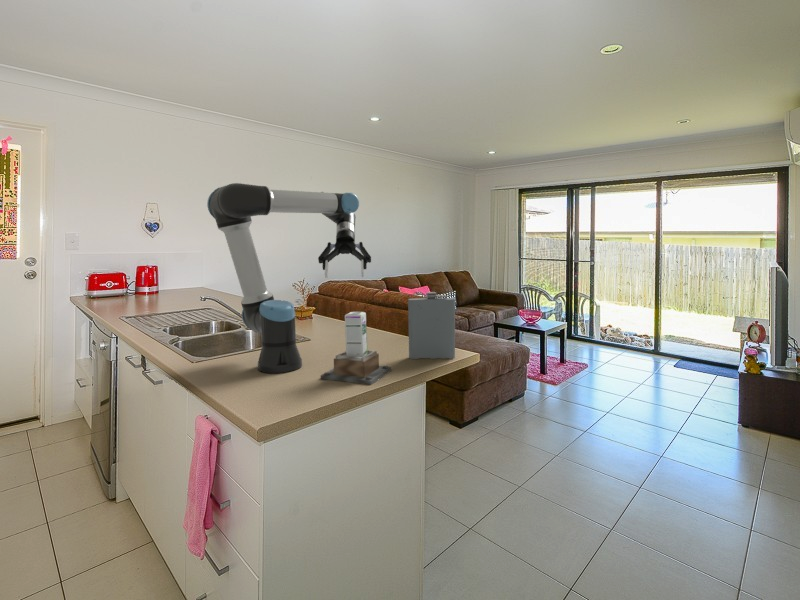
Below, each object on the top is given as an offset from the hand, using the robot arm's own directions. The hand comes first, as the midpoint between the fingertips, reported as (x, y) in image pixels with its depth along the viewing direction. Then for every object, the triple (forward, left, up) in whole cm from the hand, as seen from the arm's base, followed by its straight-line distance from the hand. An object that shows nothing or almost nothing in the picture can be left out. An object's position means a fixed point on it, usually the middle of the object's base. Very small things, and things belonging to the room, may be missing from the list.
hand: (344, 275), depth 160 cm
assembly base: (+14, -19, -32) cm, 39 cm away
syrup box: (+14, -19, -26) cm, 35 cm away
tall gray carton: (+31, +10, -32) cm, 46 cm away
